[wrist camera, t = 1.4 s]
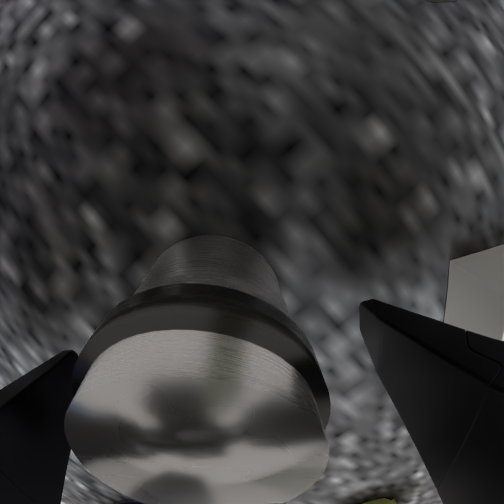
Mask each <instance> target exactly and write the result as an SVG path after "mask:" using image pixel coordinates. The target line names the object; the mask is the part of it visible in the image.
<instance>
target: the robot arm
mask: <svg viewBox="0 0 504 504" xmlns="http://www.w3.org/2000/svg"><path fill="white" fill-rule="evenodd" d="M359 312H360V331H361V334H362V337H363V339H364V341H365V344H366V346H367V349H368V351H369V354H370V356H371V359H372V361H373V364H374V366H375V369H376V371H377V373H378V375H379V377H380V379H381V381H382V383H383V385H384V387H385V389H386V390H387V392H388V394H389V396H390V398H391V400H392V402H393V403H394V405H395V407H396V409H397V411H398V413H399V415H400V417H401V419H402V420H403V422H404V424H405V426H406V428H407V430H408V432H409V434H410V436H411V438H412V440H413V442H414V444H415V446H416V448H417V450H418V452H419V454H420V456H421V458H422V460H423V462H424V464H425V466H426V468H427V470H428V472H429V474H430V476H431V478H432V480H433V483H434V485H435V487H436V489H437V491H438V494H439V496H440V498H441V500H442V502H443V504H504V341H501V340H498V339H494V338H490V337H487V336H484V335H480V334H477V333H474V332H471V331H468V330H467V331H465V329H462V328H459V327H456V326H453V325H450V324H447V323H444V322H441V321H438V320H435V319H432V318H429V317H426V316H423V315H420V314H417V313H414V312H411V311H408V310H405V309H402V308H399V307H396V306H393V305H390V304H387V303H384V302H381V301H378V300H375V299H370V300H367V301H363V302H361V303H360V306H359ZM77 359H78V355H77V353H76V352H75V351H73V350H66V351H62V352H61V353H59V354H57V355H56V356H54V357H52V358H51V359H49V360H48V361H46V362H44V363H43V364H41V365H40V366H38V367H36V368H35V369H33V370H31V371H30V372H28V373H27V374H25V375H23V376H22V377H20V378H19V379H17V380H15V381H14V382H12V383H11V384H9V385H7V386H6V387H4V388H3V389H1V390H0V504H60V503H61V497H62V492H63V486H64V480H65V475H66V470H67V465H68V461H69V456H70V451H71V447H70V445H69V443H68V441H67V438H66V434H65V430H64V419H65V415H66V411H67V410H68V408H69V406H70V404H71V402H72V400H73V398H74V397H73V390H72V374H73V370H74V366H75V363H76V361H77Z"/></svg>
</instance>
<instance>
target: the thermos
mask: <svg viewBox="0 0 504 504" xmlns="http://www.w3.org/2000/svg"><path fill="white" fill-rule="evenodd" d="M427 1H431V2H454V1H456V0H427Z"/></svg>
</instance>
